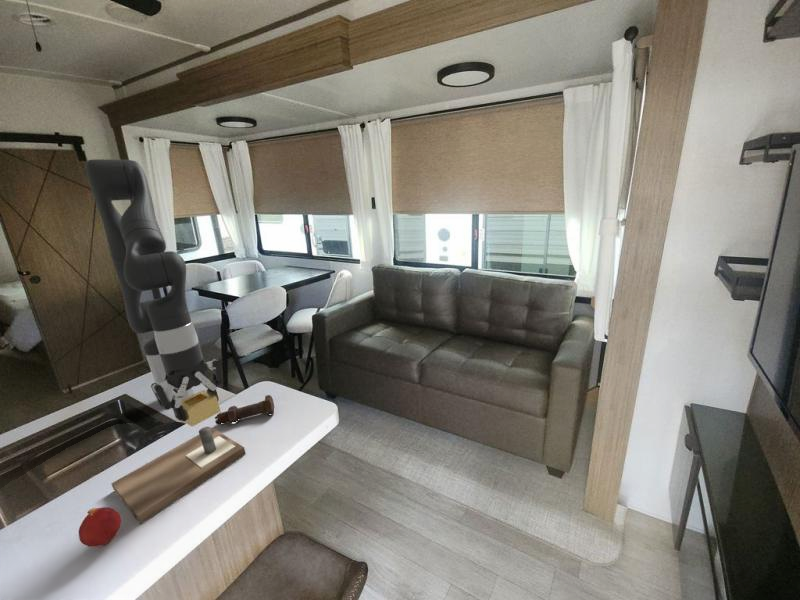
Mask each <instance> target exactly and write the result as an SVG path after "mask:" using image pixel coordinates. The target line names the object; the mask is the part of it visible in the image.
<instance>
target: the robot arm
mask: <svg viewBox="0 0 800 600" xmlns="http://www.w3.org/2000/svg"><path fill="white" fill-rule="evenodd" d="M85 172H86V173H85V174H86V178H87V182H88V185H89V188H90V191H91V193H92V196H93V199H94V202H95V205H96V207H97V210H98V213H99V215H100V219H101V222H102V224H103V229H104V231H105V236H106V240H107V245H108V249H109V252H110V257H111V260H112V264H113V267H114V270H115V274H116V276H117V280H118V282H119V285H120V289H121V294H122V297H123V303H124V304H123V305H124V308H125V314H126V318H127V322H128V325H129V327H130V330H132V331H133V333H136V334H138V335H139V334H145V333H149V332H153V334H154V338H152V339H151V340H149V341H147V342H146V343H144V345H143V350H144V354H145V357H146V360H147V362H148V366H149V369H150V372H151V375H152V378H153V381H154V382H153V383H152V384H151V385H150V388H151V389H152V392H153V394H154V396H155V398H156V400H157V402H158V405H160V407H161V408H163V409H164V410H166V411H168V410H170V409H172V411H173V413H174V417H175V418H176V419H177V420H178V421H179V422H180V421H181V422H183V423H185V422H184V421H186V417H185V414H184V411H183V406H181V402H182V400H183V399H185V398H187V397H189V396H191V395H194V394H195V391H194V387H198V386H200V385H203V387H205V388H206V392H208V393H210V394H213V395H215V396H216V397H217V400H218V401H219V399H220V398H219V395H218V392H217V388H218V386H220V385H223V383H224V379H223V378H224V377H223V372H222V365H221V361H220V360H218V359H215V358H211V359H210V360H209V361H205V360H204V356H203V353H202V348H201V344H200V342H199V336H198V334H197V331H196V328H195V327H194V324H193V322H192V318H191V315H190V311H189V309H188V308H189V307H188V304H187V297H186V283H187V282H186V279H187V265H186V262H185V260H184V258H183V257H182V256H181V255H180V254H179V253H177V252H176V251H170V250H169V251H168V250H167V251H166V249H167V245H166V244H167V243H166V240H165V238H164V235H163V233H162V232H161V228H160V226H159V224H158V221H157V218H156V213H155V208H154V203H153V198H152V194H151V191H150V187H149V182H148V178H147V176H146V174H145V173H146V172H145V171H144V168H143V166H142V165H141V164H140V163H139V162H138V161H135V160H131V159H108V158H107V159H105V158H103V159H102V158H101V159H100V158H99V159H97V158H96V159H89V160H87V161H86V163H85ZM129 200H130V201H131V200H133V201H132V202H131V203H130V204H129V206H128V207H127V208H126V209H125V211H124V212H123V214H120V212H119V210H117V208H116V207H115V206H114V204H113V202H114V201H129ZM167 287H170V290H169V292H168V293H167V294H166V295H164V296H163V297H159V298H156V299H150V300H146V301H141V297H142V293H143V292H147V291H151V290H157V289H162V288H167ZM140 301H141V302H140ZM208 369H209V370H211V378H212V381H211V380H210V379H209V378H207V377H206V376H205V375H206V374H207V371H208Z"/></svg>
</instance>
